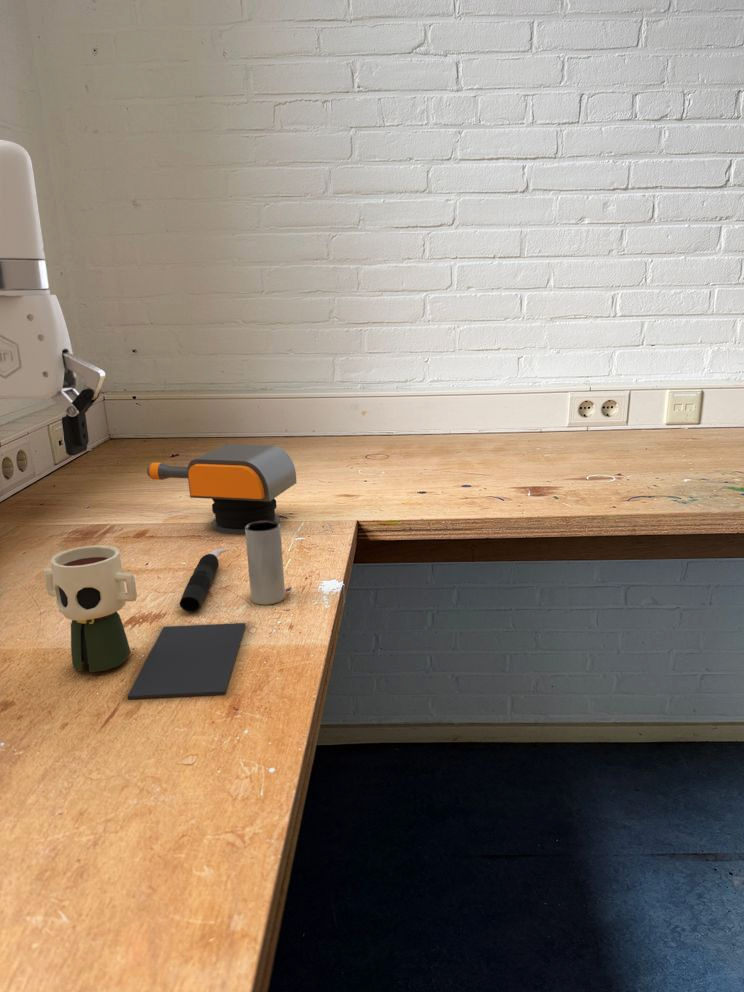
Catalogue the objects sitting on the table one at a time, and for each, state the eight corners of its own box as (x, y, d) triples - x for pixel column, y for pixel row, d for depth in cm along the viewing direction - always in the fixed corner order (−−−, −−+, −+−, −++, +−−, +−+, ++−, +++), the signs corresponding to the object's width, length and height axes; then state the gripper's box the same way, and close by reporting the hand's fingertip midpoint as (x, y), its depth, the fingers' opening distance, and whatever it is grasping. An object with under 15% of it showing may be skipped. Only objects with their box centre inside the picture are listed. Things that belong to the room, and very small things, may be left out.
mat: (127, 699, 82) (127, 696, 82) (163, 629, 98) (163, 626, 98) (225, 694, 83) (224, 691, 83) (245, 625, 99) (245, 622, 99)
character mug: (40, 674, 88) (19, 564, 84) (77, 646, 95) (60, 542, 90) (129, 682, 86) (112, 569, 82) (162, 653, 92) (148, 547, 88)
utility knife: (207, 559, 122) (205, 540, 121) (233, 557, 123) (231, 539, 122) (178, 616, 102) (176, 595, 101) (210, 615, 102) (207, 593, 101)
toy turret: (176, 506, 150) (168, 440, 146) (301, 513, 144) (296, 444, 140) (133, 530, 137) (123, 458, 133) (269, 539, 131) (262, 463, 127)
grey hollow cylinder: (245, 603, 106) (238, 529, 102) (260, 590, 110) (254, 519, 107) (276, 606, 104) (270, 532, 101) (291, 593, 109) (285, 521, 105)
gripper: (-103, 281, 75) (-68, 458, 81) (71, 280, 74) (95, 461, 79) (-52, 280, 82) (-23, 443, 88) (108, 279, 81) (128, 446, 86)
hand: (33, 452), depth 83 cm, fingers open, 9 cm apart
